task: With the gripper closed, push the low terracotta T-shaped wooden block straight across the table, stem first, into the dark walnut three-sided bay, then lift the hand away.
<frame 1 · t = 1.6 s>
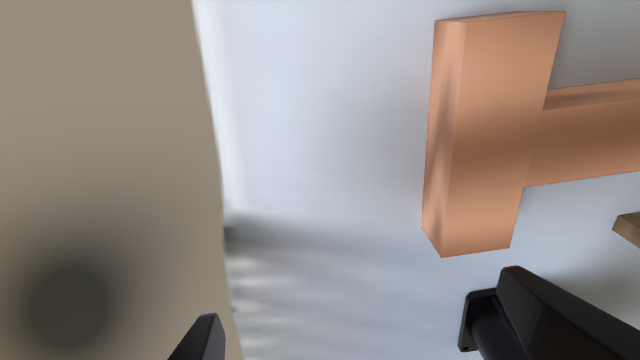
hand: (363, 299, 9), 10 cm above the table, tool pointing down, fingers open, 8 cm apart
terracotta T block: (529, 126, 18), on the table
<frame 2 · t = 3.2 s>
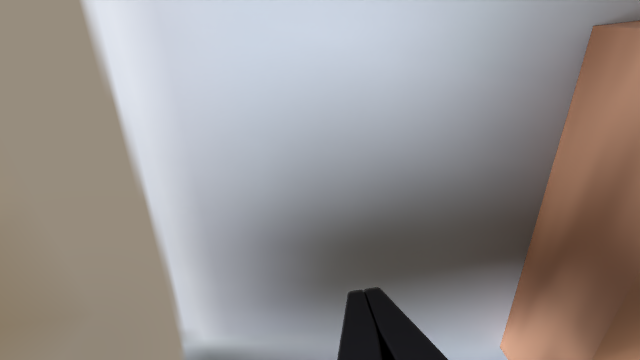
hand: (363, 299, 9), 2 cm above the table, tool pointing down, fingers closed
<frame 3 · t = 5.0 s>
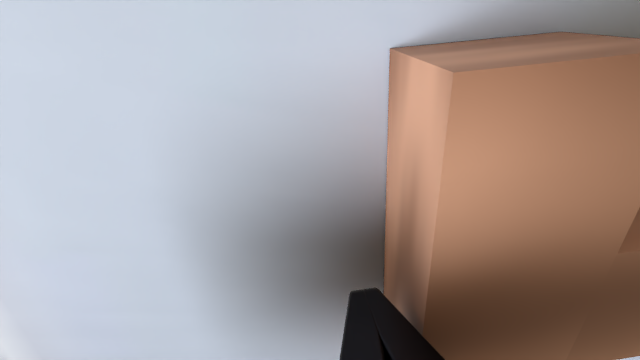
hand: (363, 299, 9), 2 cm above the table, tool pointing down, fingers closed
terracotta T block: (567, 230, 10), on the table, touching gripper
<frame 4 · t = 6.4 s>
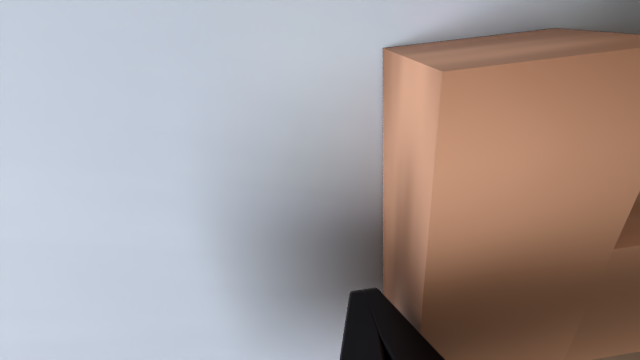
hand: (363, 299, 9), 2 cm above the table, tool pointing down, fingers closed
terracotta T block: (565, 226, 10), on the table, touching gripper
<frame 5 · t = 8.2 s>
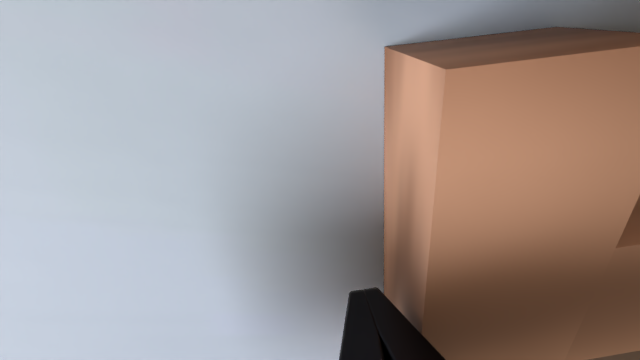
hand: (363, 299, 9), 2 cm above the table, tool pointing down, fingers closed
terracotta T block: (566, 225, 10), on the table, touching gripper
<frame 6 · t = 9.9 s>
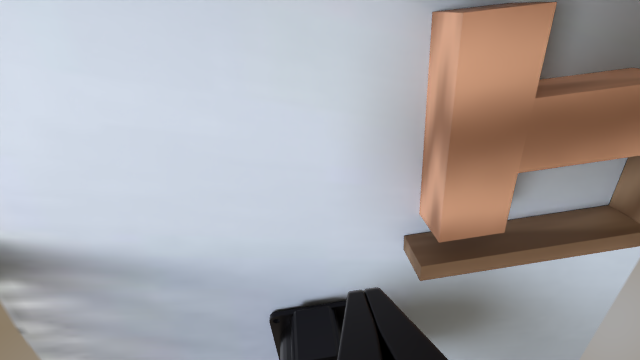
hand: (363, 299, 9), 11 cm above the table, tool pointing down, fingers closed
terracotta T block: (523, 115, 19), on the table
walnut bay: (524, 117, 19), on the table
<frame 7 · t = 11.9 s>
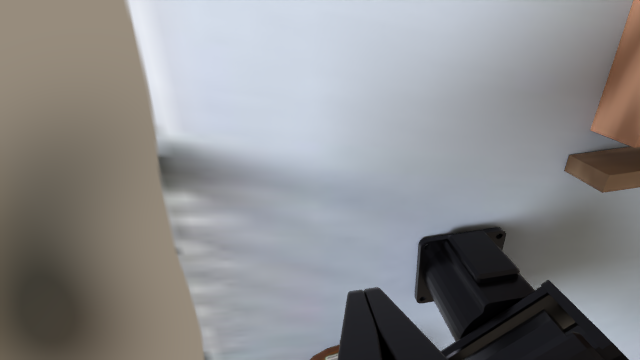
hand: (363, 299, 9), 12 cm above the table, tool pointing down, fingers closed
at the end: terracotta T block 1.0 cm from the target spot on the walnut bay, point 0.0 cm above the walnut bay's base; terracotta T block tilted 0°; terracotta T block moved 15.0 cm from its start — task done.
